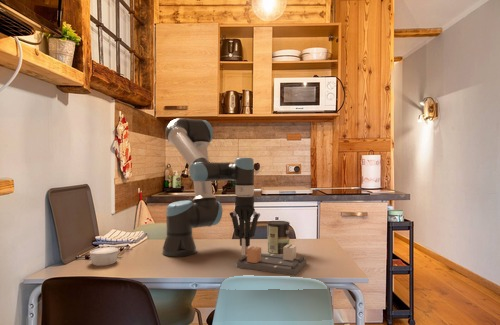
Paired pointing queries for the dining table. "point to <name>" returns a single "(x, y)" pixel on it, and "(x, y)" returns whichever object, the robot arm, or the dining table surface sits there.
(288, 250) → the off-white fader knob
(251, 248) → the terracotta fader knob
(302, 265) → the console
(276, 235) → the coffee can
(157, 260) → the dining table surface
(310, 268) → the dining table surface
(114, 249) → the ramekin
